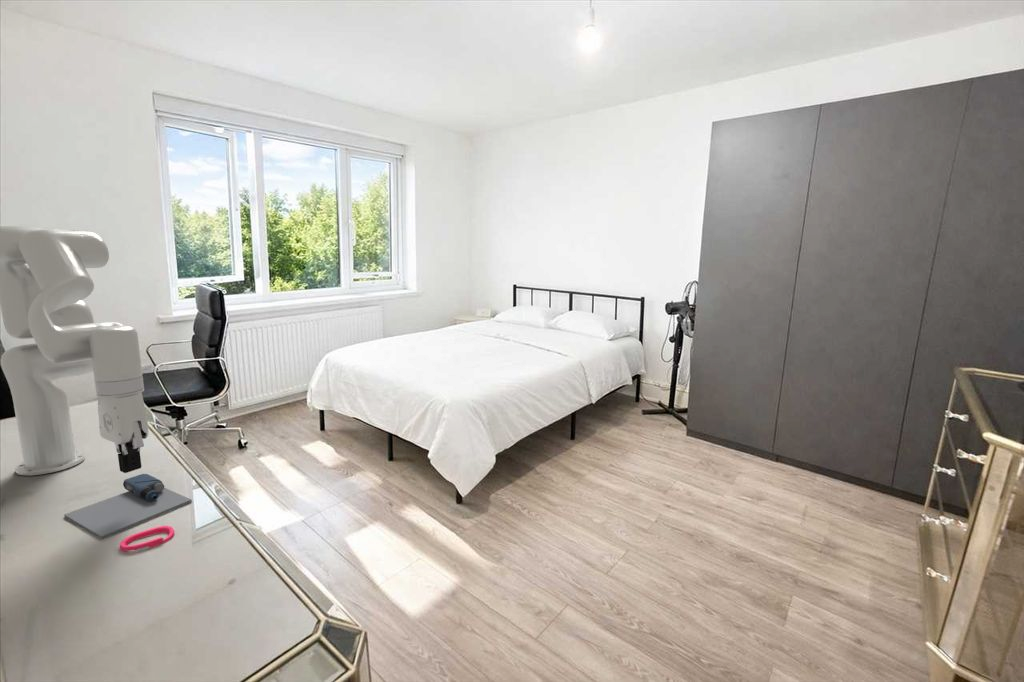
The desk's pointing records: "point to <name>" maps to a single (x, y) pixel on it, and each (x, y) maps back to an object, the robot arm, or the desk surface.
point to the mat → (124, 512)
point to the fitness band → (149, 543)
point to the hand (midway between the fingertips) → (131, 469)
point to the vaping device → (144, 486)
